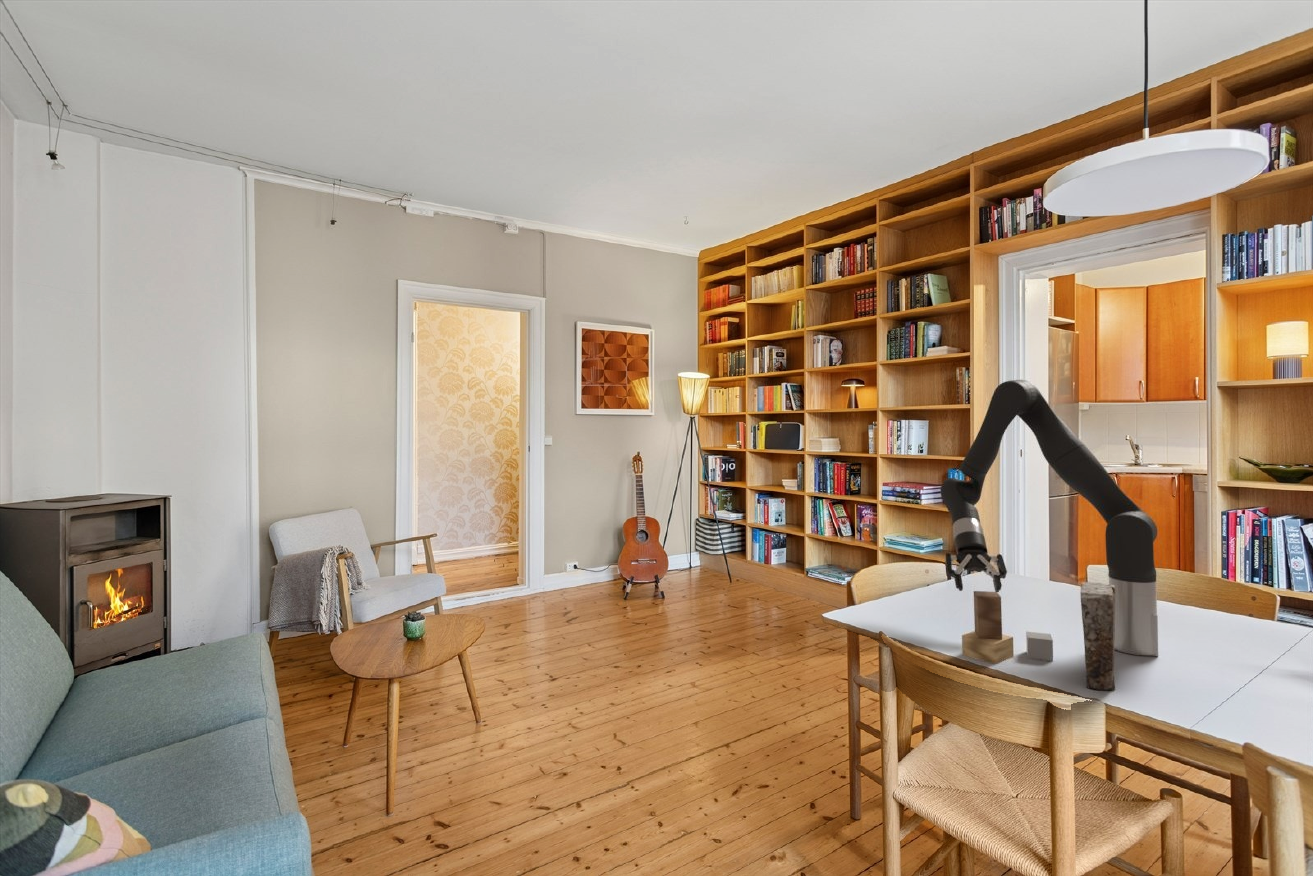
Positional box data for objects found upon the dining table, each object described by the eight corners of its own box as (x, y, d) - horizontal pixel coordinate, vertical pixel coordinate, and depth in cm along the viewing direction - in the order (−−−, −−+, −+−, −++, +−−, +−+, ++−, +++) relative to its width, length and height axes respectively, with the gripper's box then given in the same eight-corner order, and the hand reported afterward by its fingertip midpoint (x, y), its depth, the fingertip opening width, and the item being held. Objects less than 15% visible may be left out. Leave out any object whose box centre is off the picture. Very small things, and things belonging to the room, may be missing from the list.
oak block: (1013, 658, 150) (1013, 637, 150) (995, 665, 146) (995, 643, 146) (980, 649, 157) (980, 628, 157) (962, 655, 152) (961, 635, 152)
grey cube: (1050, 654, 151) (1050, 634, 151) (1053, 661, 147) (1052, 640, 147) (1026, 652, 153) (1026, 631, 153) (1028, 658, 149) (1027, 637, 149)
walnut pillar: (997, 633, 153) (996, 591, 153) (1002, 639, 148) (1001, 597, 148) (974, 631, 155) (973, 591, 154) (978, 638, 150) (977, 596, 150)
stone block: (1078, 668, 142) (1076, 579, 142) (1116, 673, 139) (1114, 582, 139) (1082, 689, 131) (1080, 592, 131) (1124, 695, 127) (1122, 596, 127)
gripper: (942, 529, 173) (950, 581, 162) (1000, 530, 169) (1012, 583, 158) (940, 545, 178) (947, 596, 167) (996, 546, 174) (1007, 599, 163)
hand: (979, 590), depth 163 cm, fingers open, 8 cm apart
